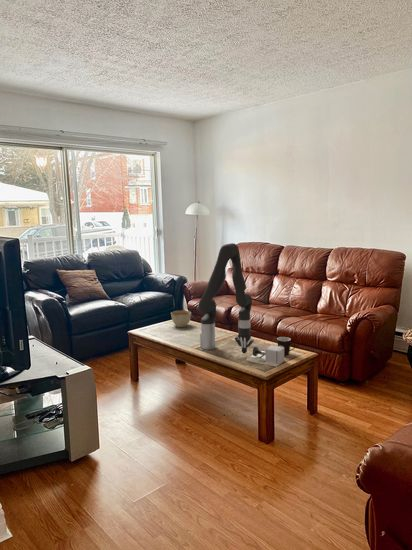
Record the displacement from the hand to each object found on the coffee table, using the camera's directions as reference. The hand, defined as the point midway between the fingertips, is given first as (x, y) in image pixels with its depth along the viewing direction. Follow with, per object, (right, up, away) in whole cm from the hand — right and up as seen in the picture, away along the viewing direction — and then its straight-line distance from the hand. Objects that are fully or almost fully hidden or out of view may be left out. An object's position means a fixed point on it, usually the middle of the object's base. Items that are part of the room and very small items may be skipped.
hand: (244, 353), depth 256 cm
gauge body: (+12, -3, -7) cm, 15 cm away
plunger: (+11, -2, -9) cm, 14 cm away
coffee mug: (+26, -2, +2) cm, 26 cm away
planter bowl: (-44, +8, +73) cm, 85 cm away
